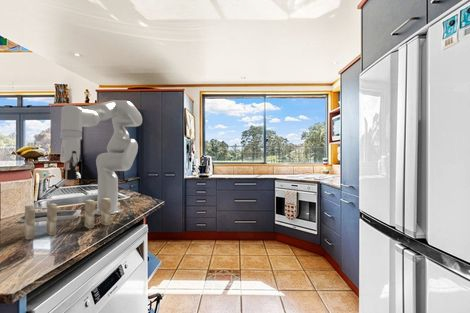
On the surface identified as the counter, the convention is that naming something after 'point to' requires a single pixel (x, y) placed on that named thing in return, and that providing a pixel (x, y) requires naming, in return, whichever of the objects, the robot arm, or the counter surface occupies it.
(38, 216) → the picture frame
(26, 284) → the counter surface
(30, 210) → the birch domino
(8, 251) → the counter surface
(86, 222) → the birch domino
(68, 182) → the terracotta domino
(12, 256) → the counter surface
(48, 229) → the birch domino
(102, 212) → the birch domino
